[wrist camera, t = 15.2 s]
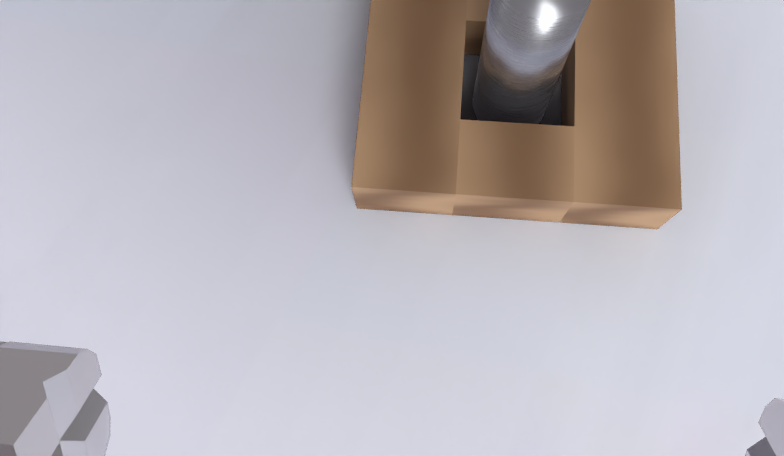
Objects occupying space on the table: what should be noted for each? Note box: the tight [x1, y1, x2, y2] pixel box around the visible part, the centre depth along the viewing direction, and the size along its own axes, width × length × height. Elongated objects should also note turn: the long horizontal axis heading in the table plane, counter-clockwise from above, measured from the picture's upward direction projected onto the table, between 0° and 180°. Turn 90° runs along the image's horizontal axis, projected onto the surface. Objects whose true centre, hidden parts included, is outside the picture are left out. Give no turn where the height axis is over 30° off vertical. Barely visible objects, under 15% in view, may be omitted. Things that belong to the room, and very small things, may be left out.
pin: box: [472, 0, 591, 124], centre depth 29 cm, size 4×4×10 cm
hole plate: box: [352, 0, 682, 229], centre depth 32 cm, size 14×12×3 cm
